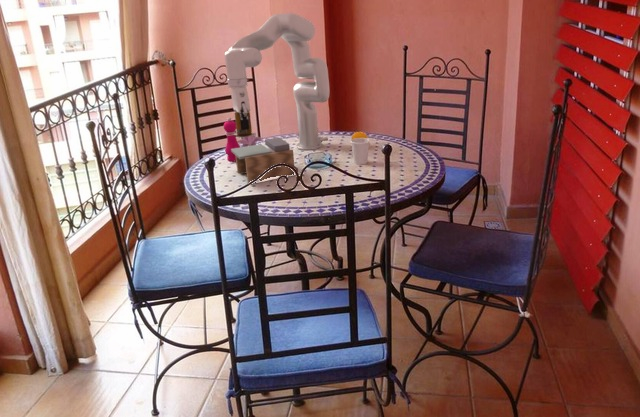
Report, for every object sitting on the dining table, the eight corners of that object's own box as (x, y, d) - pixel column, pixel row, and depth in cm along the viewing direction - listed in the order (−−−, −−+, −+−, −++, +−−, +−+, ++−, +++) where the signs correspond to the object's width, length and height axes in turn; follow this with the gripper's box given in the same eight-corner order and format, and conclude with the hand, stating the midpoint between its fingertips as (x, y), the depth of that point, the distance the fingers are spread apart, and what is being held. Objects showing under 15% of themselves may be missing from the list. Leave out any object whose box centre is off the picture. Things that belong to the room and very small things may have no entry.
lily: (267, 150, 270) (263, 132, 272) (256, 147, 260) (252, 128, 261) (247, 157, 275) (243, 139, 276) (235, 154, 264) (231, 135, 265)
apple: (363, 149, 257) (362, 134, 254) (348, 148, 261) (347, 133, 258) (370, 145, 263) (370, 130, 260) (356, 144, 267) (355, 129, 264)
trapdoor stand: (284, 164, 243) (282, 140, 239) (298, 175, 227) (296, 149, 223) (237, 173, 235) (234, 148, 231) (248, 184, 220) (245, 158, 216)
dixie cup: (360, 158, 244) (359, 136, 240) (374, 161, 238) (373, 139, 234) (347, 163, 238) (346, 141, 235) (361, 166, 233) (360, 143, 229)
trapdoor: (279, 147, 237) (278, 137, 236) (290, 154, 225) (289, 144, 223) (231, 155, 230) (230, 145, 228) (240, 163, 218) (239, 152, 216)
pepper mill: (239, 162, 251) (233, 119, 244) (224, 162, 253) (218, 119, 245) (244, 157, 258) (239, 115, 250) (229, 157, 259) (224, 115, 252)
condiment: (250, 131, 226) (247, 102, 222) (256, 135, 219) (253, 105, 214) (233, 134, 223) (229, 105, 219) (239, 138, 216) (235, 108, 212)
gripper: (253, 84, 208) (257, 130, 215) (241, 79, 223) (246, 122, 229) (233, 86, 205) (239, 133, 212) (223, 81, 220) (228, 125, 227)
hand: (242, 127), depth 221 cm, fingers closed on condiment, 6 cm apart
